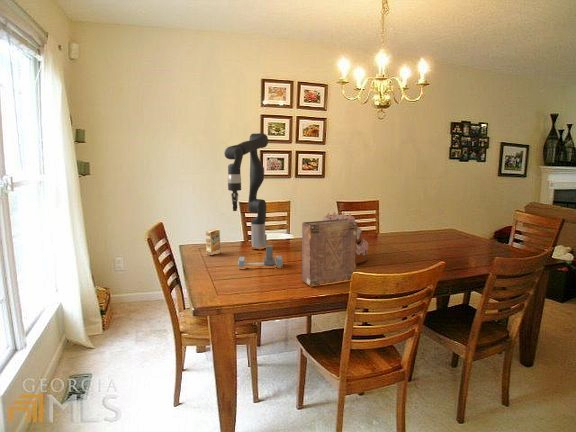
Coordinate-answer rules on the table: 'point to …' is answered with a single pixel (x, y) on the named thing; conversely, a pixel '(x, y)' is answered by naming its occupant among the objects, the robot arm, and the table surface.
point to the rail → (242, 263)
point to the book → (328, 251)
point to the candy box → (213, 240)
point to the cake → (361, 243)
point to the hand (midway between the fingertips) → (235, 209)
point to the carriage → (269, 256)
